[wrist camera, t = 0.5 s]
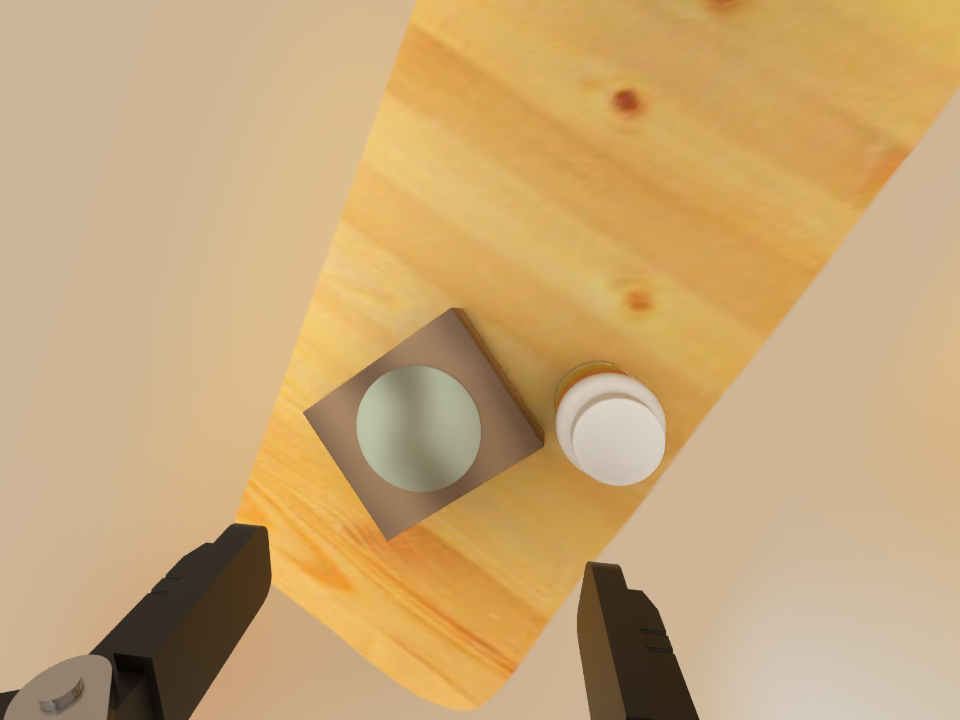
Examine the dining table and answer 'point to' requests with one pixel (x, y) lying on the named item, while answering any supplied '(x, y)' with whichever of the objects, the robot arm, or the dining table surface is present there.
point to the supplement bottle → (609, 424)
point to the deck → (425, 424)
